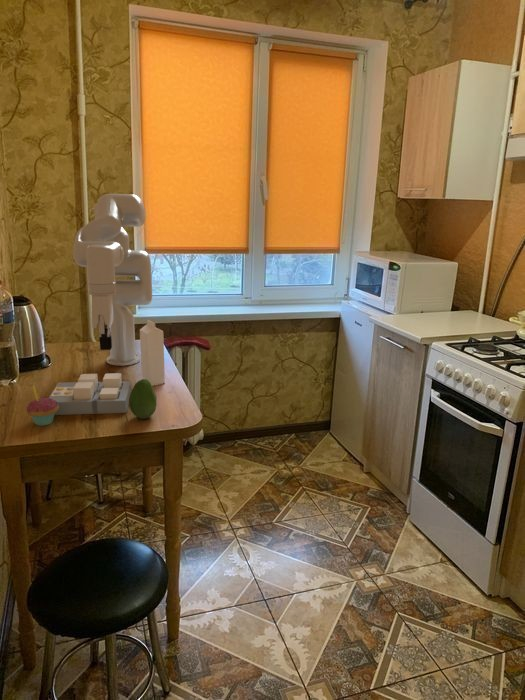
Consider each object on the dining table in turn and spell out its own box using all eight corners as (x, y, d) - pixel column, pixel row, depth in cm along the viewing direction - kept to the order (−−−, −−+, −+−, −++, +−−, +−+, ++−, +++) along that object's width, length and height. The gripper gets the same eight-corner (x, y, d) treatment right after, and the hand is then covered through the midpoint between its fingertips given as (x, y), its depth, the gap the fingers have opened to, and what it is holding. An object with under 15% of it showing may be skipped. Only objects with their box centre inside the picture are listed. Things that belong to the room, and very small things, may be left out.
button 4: (103, 402, 166) (102, 388, 165) (119, 402, 167) (118, 387, 165) (100, 409, 161) (99, 394, 160) (117, 409, 162) (116, 393, 160)
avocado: (159, 412, 162) (158, 375, 158) (154, 423, 154) (152, 385, 150) (133, 411, 162) (131, 374, 158) (126, 422, 154) (124, 384, 150)
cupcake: (28, 430, 148) (23, 390, 144) (27, 418, 155) (23, 379, 152) (61, 425, 151) (57, 386, 148) (59, 414, 159) (55, 376, 155)
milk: (149, 387, 181) (146, 324, 175) (141, 381, 186) (138, 320, 179) (165, 383, 185) (163, 322, 178) (157, 378, 189) (155, 318, 183)
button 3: (106, 388, 173) (105, 373, 171) (122, 387, 173) (121, 373, 172) (103, 393, 168) (102, 379, 166) (120, 393, 168) (119, 378, 167)
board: (59, 394, 173) (58, 381, 172) (131, 392, 176) (131, 379, 175) (46, 415, 158) (45, 401, 156) (126, 412, 161) (125, 399, 159)
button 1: (82, 388, 172) (81, 374, 170) (98, 388, 172) (97, 373, 171) (79, 394, 167) (78, 379, 165) (95, 394, 168) (94, 379, 166)
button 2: (77, 397, 164) (76, 382, 163) (94, 397, 165) (93, 382, 164) (74, 403, 160) (73, 388, 158) (91, 403, 160) (90, 388, 159)
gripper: (93, 283, 160) (97, 341, 165) (83, 293, 146) (88, 357, 151) (118, 283, 161) (122, 341, 166) (112, 293, 147) (115, 356, 152)
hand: (106, 348), depth 159 cm, fingers closed
